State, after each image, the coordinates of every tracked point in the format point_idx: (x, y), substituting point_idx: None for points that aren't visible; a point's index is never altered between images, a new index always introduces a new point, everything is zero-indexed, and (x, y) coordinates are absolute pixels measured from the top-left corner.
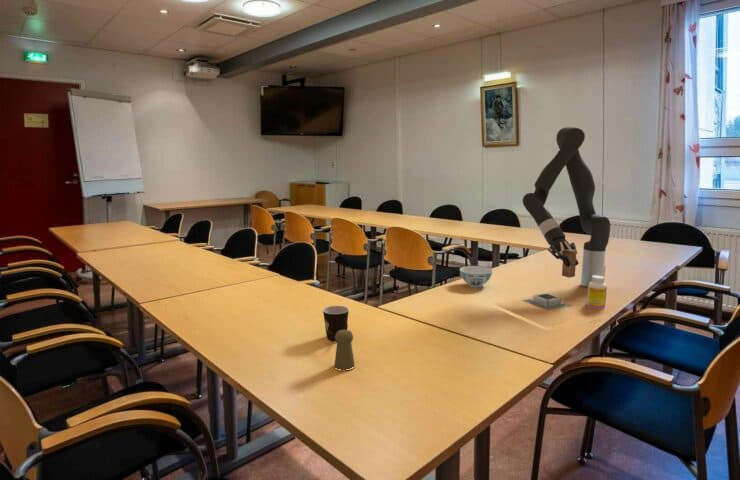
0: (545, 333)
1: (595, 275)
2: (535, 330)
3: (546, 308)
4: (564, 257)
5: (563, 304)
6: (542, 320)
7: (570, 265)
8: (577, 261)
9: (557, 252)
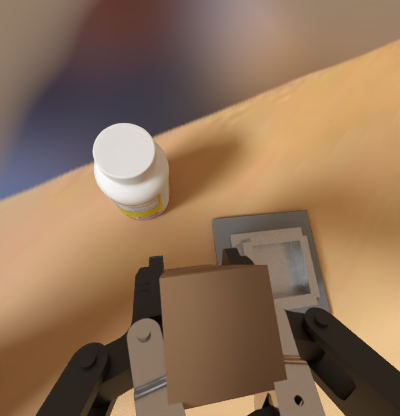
0: (374, 112)
1: (115, 173)
2: (386, 131)
3: (302, 224)
4: None
5: (234, 234)
6: (344, 172)
7: (224, 254)
8: (151, 266)
9: (367, 349)
